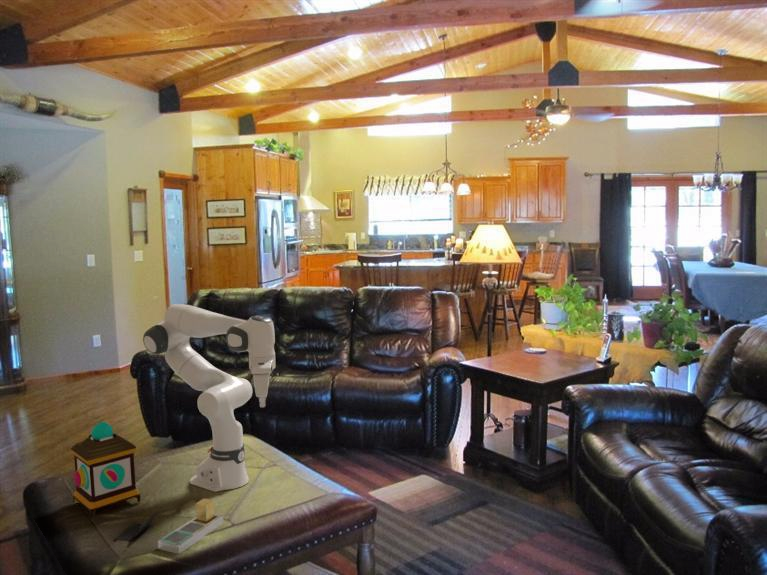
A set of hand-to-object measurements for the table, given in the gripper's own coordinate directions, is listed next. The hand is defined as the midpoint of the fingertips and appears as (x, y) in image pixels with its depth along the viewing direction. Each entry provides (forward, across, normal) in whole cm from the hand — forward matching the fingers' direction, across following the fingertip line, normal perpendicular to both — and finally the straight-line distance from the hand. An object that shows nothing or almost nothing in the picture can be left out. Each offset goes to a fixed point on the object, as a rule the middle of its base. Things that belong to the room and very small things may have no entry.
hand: (263, 402), depth 214 cm
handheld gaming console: (+38, +13, -40) cm, 57 cm away
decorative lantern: (+38, -12, -56) cm, 69 cm away
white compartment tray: (+37, +18, -22) cm, 47 cm away
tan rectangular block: (+37, +12, -19) cm, 43 cm away
